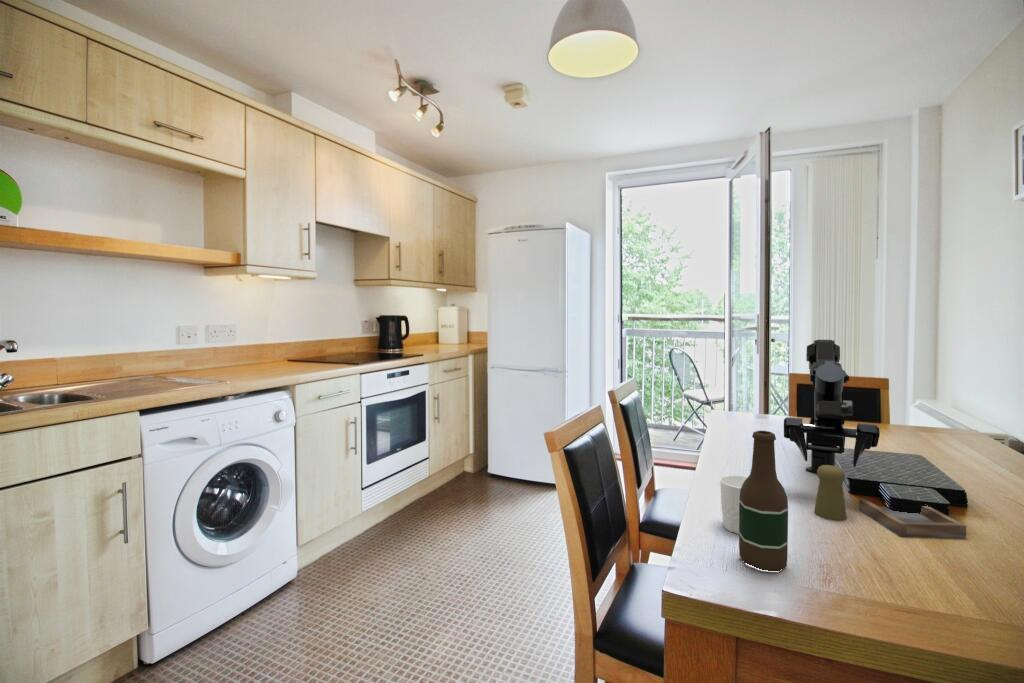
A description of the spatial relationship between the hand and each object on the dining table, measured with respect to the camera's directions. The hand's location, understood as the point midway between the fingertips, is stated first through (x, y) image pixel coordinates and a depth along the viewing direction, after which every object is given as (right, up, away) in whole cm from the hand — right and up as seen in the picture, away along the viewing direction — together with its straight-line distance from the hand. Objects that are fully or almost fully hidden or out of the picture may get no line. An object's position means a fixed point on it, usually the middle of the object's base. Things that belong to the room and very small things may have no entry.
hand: (829, 463), depth 108 cm
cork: (-2, -11, -3) cm, 12 cm away
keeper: (+12, -11, -7) cm, 17 cm away
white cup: (-24, -12, -8) cm, 28 cm away
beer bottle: (-27, -13, -22) cm, 37 cm away
